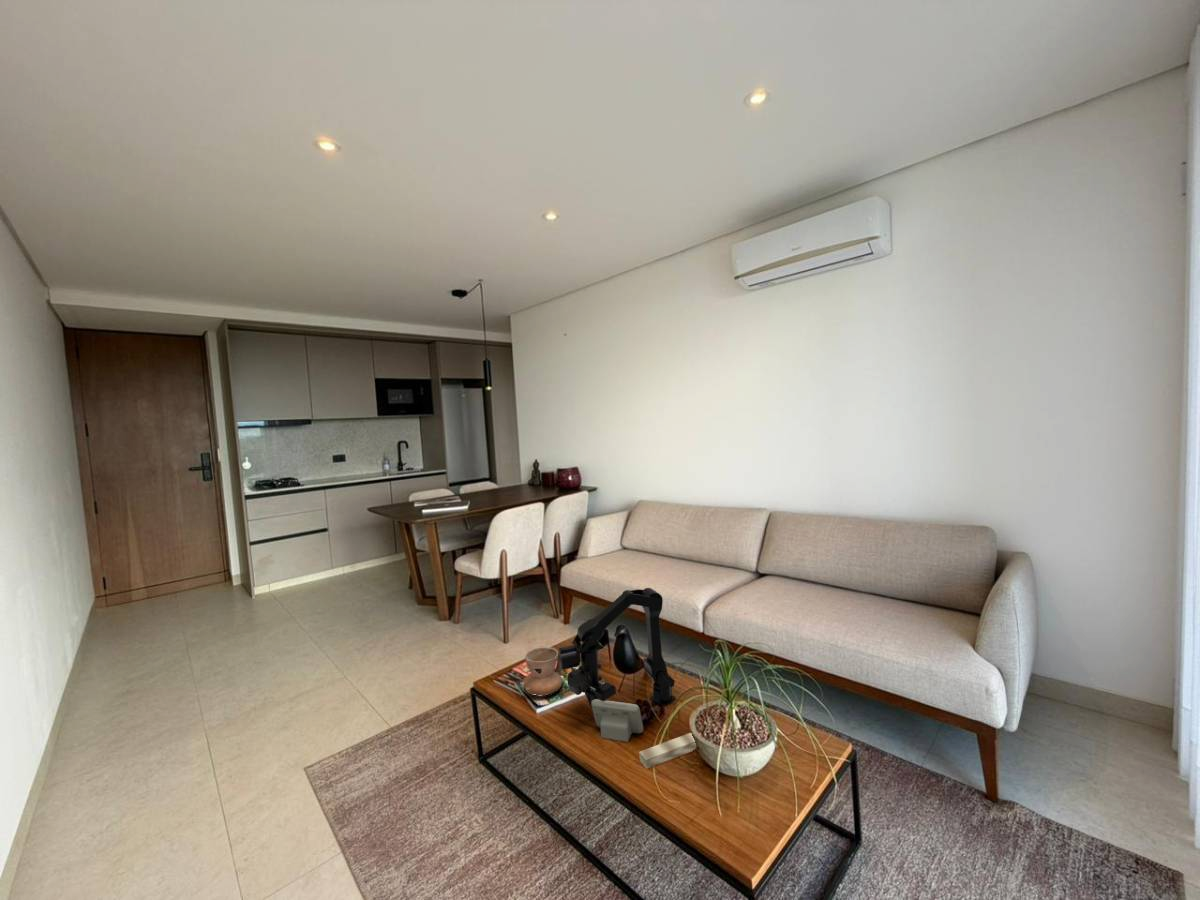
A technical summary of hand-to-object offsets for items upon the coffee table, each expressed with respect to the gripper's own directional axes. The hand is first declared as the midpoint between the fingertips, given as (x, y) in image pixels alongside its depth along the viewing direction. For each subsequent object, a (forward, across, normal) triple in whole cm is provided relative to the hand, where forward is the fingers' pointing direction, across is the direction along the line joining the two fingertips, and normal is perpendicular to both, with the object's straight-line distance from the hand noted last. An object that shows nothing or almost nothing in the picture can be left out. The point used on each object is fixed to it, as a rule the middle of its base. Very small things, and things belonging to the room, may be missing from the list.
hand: (592, 707), depth 166 cm
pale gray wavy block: (+4, +31, +3) cm, 31 cm away
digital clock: (+4, +12, 0) cm, 12 cm away
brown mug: (+4, -27, 0) cm, 28 cm away
